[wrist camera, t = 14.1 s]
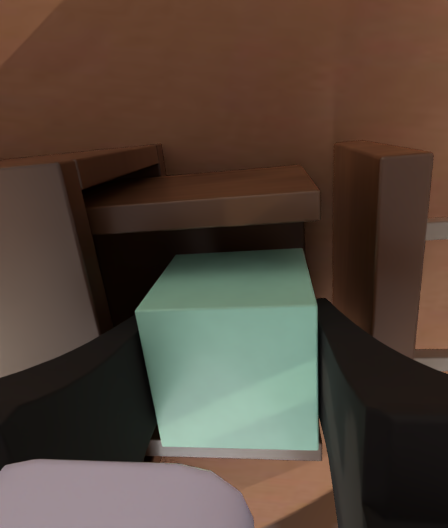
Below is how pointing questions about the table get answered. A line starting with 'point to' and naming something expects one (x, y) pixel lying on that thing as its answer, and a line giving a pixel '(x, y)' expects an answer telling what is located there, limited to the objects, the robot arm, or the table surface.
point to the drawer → (280, 242)
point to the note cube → (233, 351)
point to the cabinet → (56, 251)
